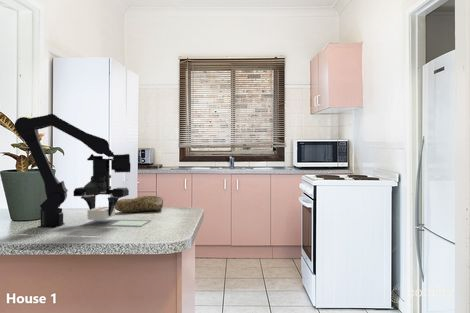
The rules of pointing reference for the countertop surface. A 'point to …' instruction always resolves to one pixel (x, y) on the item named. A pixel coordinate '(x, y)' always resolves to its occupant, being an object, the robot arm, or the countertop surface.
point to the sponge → (139, 204)
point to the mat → (117, 223)
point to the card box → (100, 213)
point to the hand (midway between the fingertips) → (101, 215)
